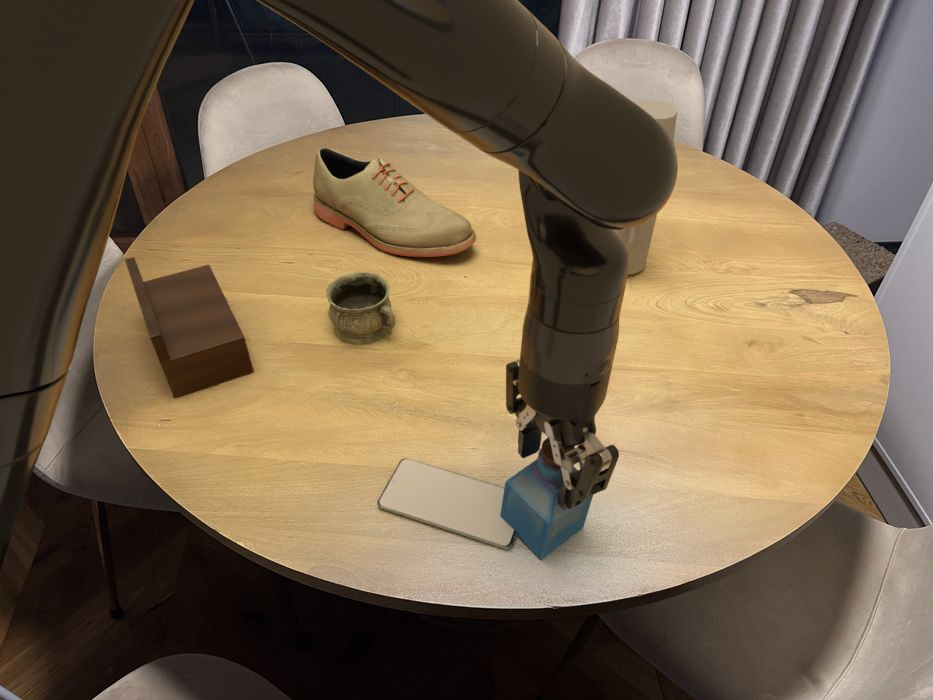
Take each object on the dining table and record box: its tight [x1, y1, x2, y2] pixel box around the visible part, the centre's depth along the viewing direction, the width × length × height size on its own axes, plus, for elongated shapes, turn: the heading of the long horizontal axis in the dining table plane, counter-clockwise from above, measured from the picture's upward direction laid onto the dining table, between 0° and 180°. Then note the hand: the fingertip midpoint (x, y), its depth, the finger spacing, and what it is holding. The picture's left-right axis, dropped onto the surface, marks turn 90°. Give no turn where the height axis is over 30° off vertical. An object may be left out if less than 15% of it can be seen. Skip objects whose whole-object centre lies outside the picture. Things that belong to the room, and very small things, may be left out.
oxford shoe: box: [312, 147, 477, 258], centre depth 109 cm, size 11×32×12 cm, turn 61°
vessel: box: [325, 271, 396, 345], centre depth 93 cm, size 12×9×6 cm
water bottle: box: [614, 99, 678, 276], centre depth 98 cm, size 9×8×25 cm
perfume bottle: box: [500, 437, 594, 560], centre depth 67 cm, size 6×6×12 cm
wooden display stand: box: [124, 256, 254, 399], centre depth 88 cm, size 18×10×10 cm, turn 29°
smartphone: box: [377, 457, 517, 550], centre depth 72 cm, size 7×1×15 cm
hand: (548, 477), depth 66 cm, fingers open, 6 cm apart
